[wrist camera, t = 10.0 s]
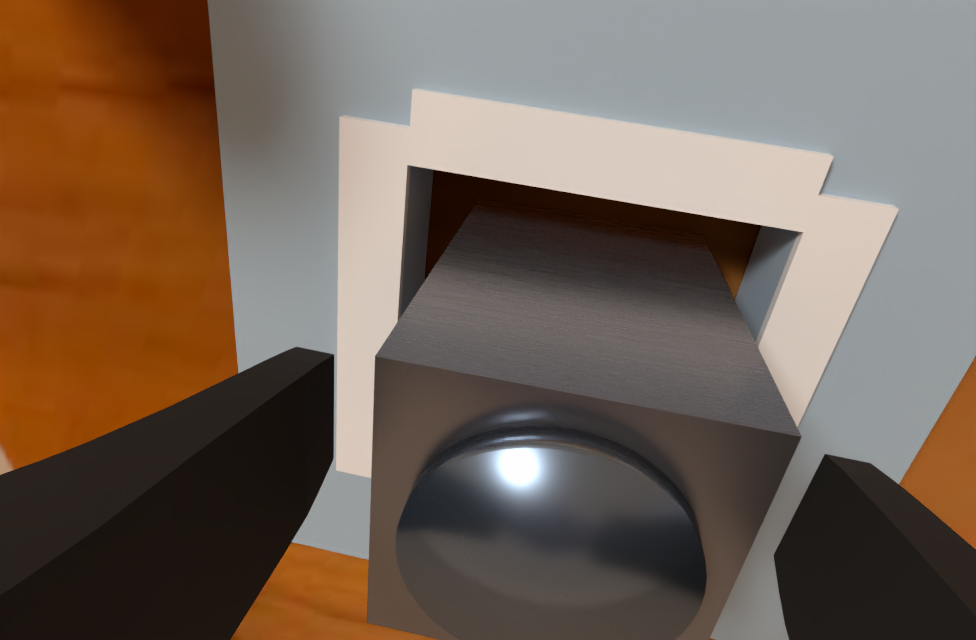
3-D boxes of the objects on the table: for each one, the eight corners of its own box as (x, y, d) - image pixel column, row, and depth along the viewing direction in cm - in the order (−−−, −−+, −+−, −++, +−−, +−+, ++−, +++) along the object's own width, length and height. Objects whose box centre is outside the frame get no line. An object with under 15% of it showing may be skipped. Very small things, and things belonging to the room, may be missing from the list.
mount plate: (1078, 19, 9) (1192, 18, 7) (774, 592, 16) (797, 666, 14) (259, -92, 10) (190, -115, 9) (284, 484, 17) (247, 539, 15)
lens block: (702, 233, 12) (814, 462, 6) (647, 416, 14) (686, 726, 8) (479, 197, 12) (362, 375, 6) (459, 380, 14) (357, 648, 8)
